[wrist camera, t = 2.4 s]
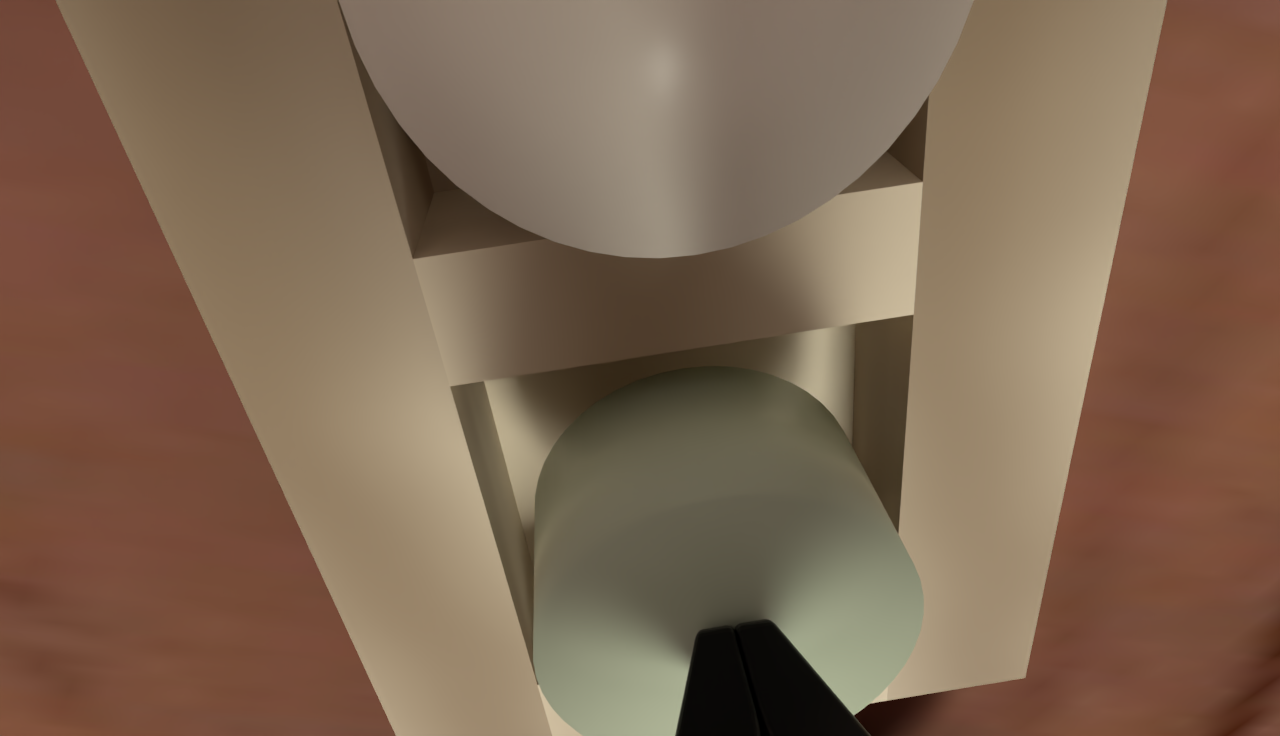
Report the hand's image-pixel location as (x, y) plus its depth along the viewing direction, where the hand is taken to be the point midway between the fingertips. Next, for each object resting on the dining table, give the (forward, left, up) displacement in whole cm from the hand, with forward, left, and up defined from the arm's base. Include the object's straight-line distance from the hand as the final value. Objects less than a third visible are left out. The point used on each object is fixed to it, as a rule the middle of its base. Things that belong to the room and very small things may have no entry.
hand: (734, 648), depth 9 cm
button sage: (0, 0, -2) cm, 2 cm away
